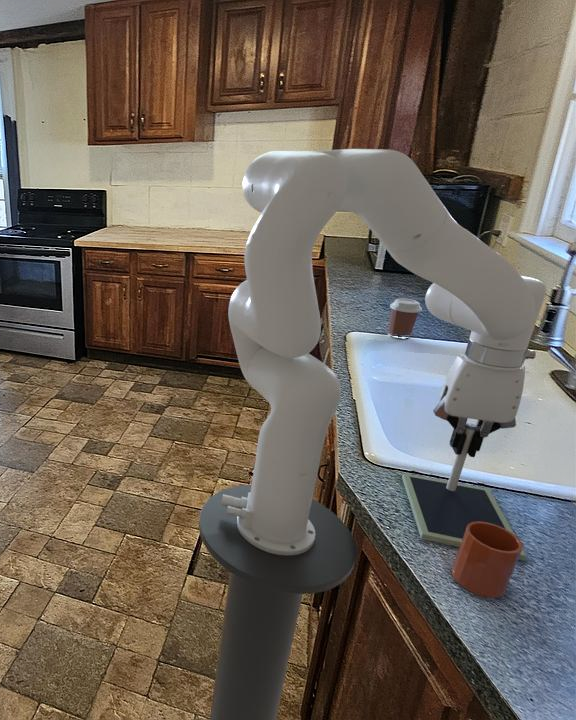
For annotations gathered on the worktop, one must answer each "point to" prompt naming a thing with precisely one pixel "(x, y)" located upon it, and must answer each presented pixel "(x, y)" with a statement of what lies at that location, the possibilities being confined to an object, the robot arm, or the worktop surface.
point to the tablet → (451, 509)
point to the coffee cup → (403, 316)
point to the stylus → (460, 458)
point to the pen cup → (486, 559)
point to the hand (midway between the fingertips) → (462, 451)
